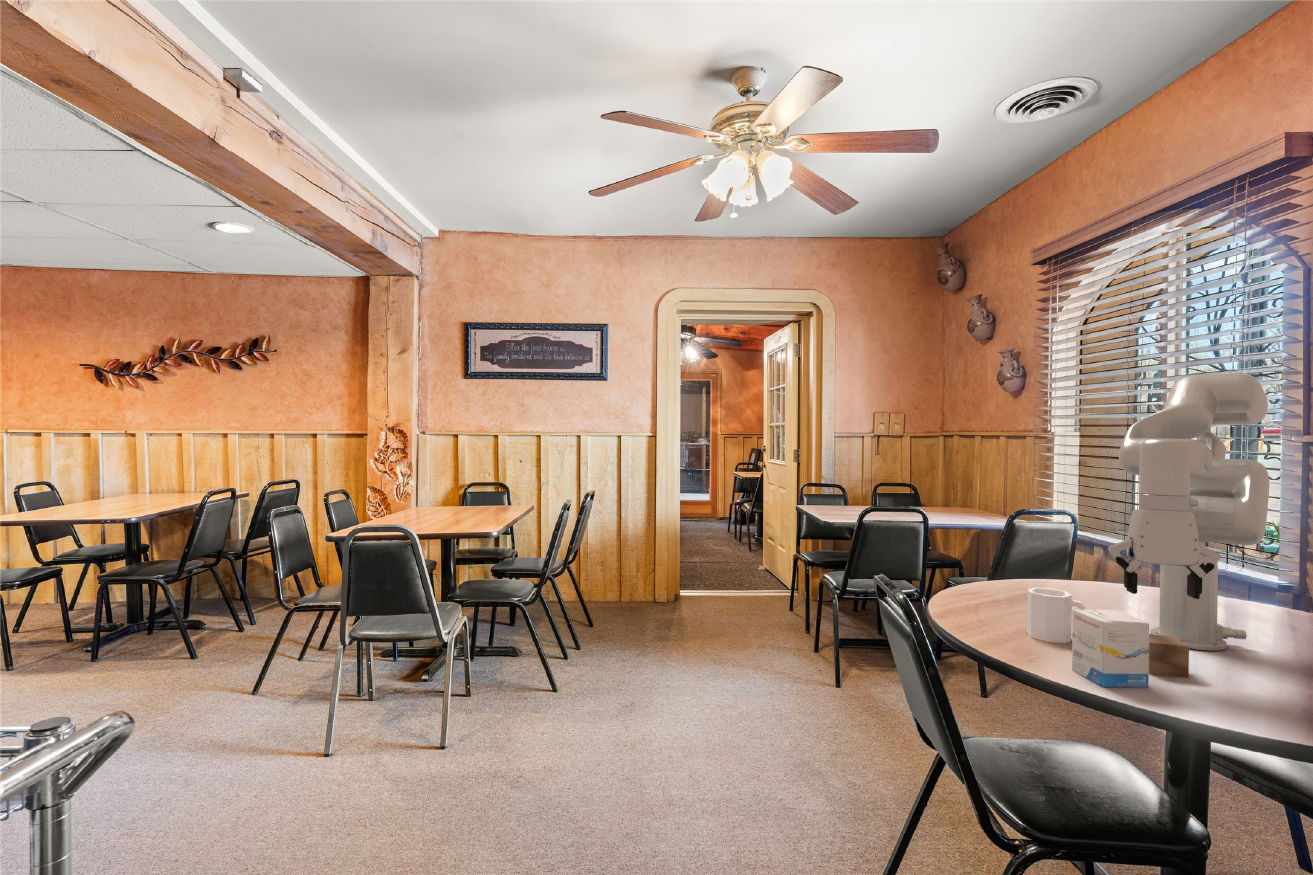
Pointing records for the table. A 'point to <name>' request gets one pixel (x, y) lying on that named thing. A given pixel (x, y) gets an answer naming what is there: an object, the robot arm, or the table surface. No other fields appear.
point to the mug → (1050, 614)
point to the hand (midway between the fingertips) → (1161, 594)
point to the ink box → (1110, 648)
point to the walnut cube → (1168, 656)
